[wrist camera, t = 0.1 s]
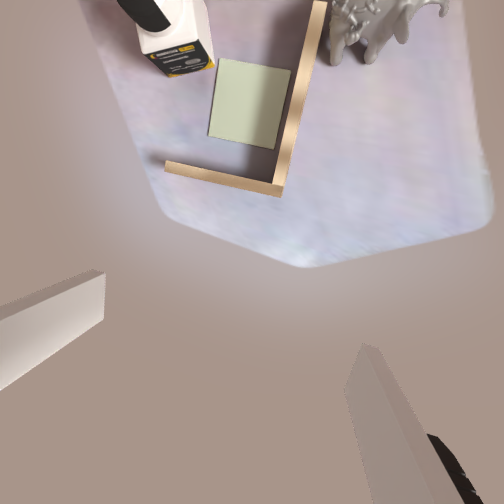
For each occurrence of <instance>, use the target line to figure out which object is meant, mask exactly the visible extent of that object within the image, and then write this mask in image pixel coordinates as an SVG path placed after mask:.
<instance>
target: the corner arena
mask: <svg viewBox="0 0 504 504" xmlns="http://www.w3.org/2000/svg"><path fill="white" fill-rule="evenodd" d="M327 3H328V2H323V1H316V0H314V2H313V6H312V11H311V15H310V20H309V24H308V28H307V33H306V37H305V41H304V46H303V50H302V55H301V59H300V63H299V68H298V72H297V77H296V81H295V85H294V90H293V94H292V99H291V103H290V107H289V112H288V116H287V121H286V125H285V129H284V134H283V138H282V143H281V147H280V151H279V156H278V160H277V164H276V169H275V173H274V178H273V182H272V184H270V183H266V182H261V181H257V180H252V179H248V178H243V177H239V176H234V175H230V174H225V173H221V172H216V171H212V170H207V169H203V168H198V167H194V166H189V165H185V164H180V163H176V162H171V161H167V160H166V162H165V172H169V173H173V174H178V175H182V176H187V177H191V178H195V179H200V180H204V181H209V182H213V183H217V184H222V185H226V186H231V187H235V188H240V189H244V190H248V191H253V192H257V193H262V194H266V195H270V196H275V197H279V198H281V197H282V194H283V190H284V186H285V182H286V178H287V174H288V169H289V165H290V161H291V157H292V153H293V149H294V145H295V140H296V136H297V132H298V128H299V124H300V120H301V116H302V112H303V107H304V103H305V99H306V95H307V91H308V87H309V83H310V79H311V74H312V70H313V66H314V62H315V58H316V54H317V50H318V45H319V41H320V37H321V33H322V28H323V23H324V18H325V13H326V8H327Z"/></svg>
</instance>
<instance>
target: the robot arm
mask: <svg viewBox="0 0 504 504" xmlns="http://www.w3.org/2000/svg"><path fill="white" fill-rule="evenodd" d="M105 275H106V273H104V272H100V271H97V270H93V269H92V270H89V271H87V272H85V273H82V274H79V275H77V276H74V277H72V278H69V279H67V280H64V281H62V282H60V283H57V284H54V285H52V286H50V287H47V288H45V289H42V290H40V291H37V292H35V293H32V294H30V295H27V296H25V297H23V298H20V299H17V300H15V301H12V302H10V303H7V304H5V305H3V306H0V390H2V389H3V388H5V387H6V386H7V385H9V384H10V383H12V382H13V381H15V380H16V379H18V378H19V377H21V376H22V375H23V374H25V373H26V372H28V371H29V370H31V369H32V368H33V367H35V366H37V365H38V364H39V363H41V362H42V361H44V360H45V359H47V358H48V357H49V356H51V355H52V354H54V353H55V352H57V351H58V350H60V349H61V348H62V347H64V346H65V345H67V344H68V343H70V342H71V341H73V340H74V339H75V338H77V337H78V336H80V335H81V334H83V333H84V332H86V331H87V330H88V329H90V328H91V327H93V326H94V325H96V324H97V323H99V322H100V321H101V320H103V319H104V298H105V297H104V296H105ZM344 392H345V395H346V400H347V404H348V408H349V412H350V415H351V419H352V423H353V427H354V431H355V435H356V438H357V442H358V446H359V450H360V454H361V457H362V462H363V465H364V469H365V473H366V477H367V480H368V485H369V488H370V492H371V496H372V500H373V504H483V502H482V500H481V499H480V497H479V496H477V495H476V490H475V489H474V487H473V486H472V484H471V482H470V481H469V479H468V478H466V474H465V472H464V471H463V469H462V467H461V466H460V464H459V463H458V461H457V459H456V458H455V456H454V455H453V454H452V452H451V451H450V450H449V449H448V448H447V447H446V446H445V445H444V443H443V442H442V441H441V440H440V439H439V438H438V437H436V436H433V435H430V434H426V433H425V431H424V429H423V427H422V425H421V424H420V422H419V420H418V418H417V416H416V414H415V413H414V411H413V409H412V407H411V405H410V403H409V402H408V400H407V398H406V396H405V394H404V393H403V391H402V389H401V387H400V386H399V383H398V382H397V380H396V378H395V376H394V374H393V372H392V371H391V369H390V367H389V365H388V363H387V362H386V360H385V358H384V356H383V354H382V352H381V351H380V349H379V348H378V347H374V346H371V345H367V344H363V343H362V345H361V348H360V350H359V353H358V355H357V358H356V361H355V363H354V365H353V368H352V370H351V373H350V375H349V378H348V380H347V383H346V385H345V388H344Z"/></svg>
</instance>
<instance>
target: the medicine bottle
mask: <svg viewBox="0 0 504 504" xmlns="http://www.w3.org/2000/svg"><path fill="white" fill-rule="evenodd" d="M117 2H118V3H119V5H120V6H121V7H122V8H123V9H124V11H125V12H126V13H127V14H128V15H129V16H130V17H131V18H132V19H133V20H134V21H135V23H136V28H137V33H138V38H139V43H140V47H141V51H142V53H143V54H144V55H145V56H146V57H147V58H148V59H149V60H151V61H152V62H153V63H154V64H155V65H156V66H157V67H158V68H159V69H160V70H162V71H163V72H164V73H165V74H166V75H167V76H168V77H169V78H172V77H176V76H181V75H185V74H189V73H193V72H197V71H202V70H206V69H210V68H214V67H215V61H214V54H213V47H212V40H211V33H210V26H209V19H208V13H207V8H206V5H205V3H204V1H203V0H117Z"/></svg>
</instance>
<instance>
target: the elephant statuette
mask: <svg viewBox="0 0 504 504" xmlns="http://www.w3.org/2000/svg"><path fill="white" fill-rule="evenodd" d="M427 4H440V6H441V9H440V11H439V16H440V17H444V16H445V15H446V14H447V13H448V10H449V6H448V4H449V0H333V1H332V6H333V7H332V9H331V12H330V17H331V20H330V22H329V28H330V33H329V36H330V41H331V50H330V64H331V65H332V66H337V65H339V64H340V63H341V61H342V58H343V48H344V47H345V45H347V46H350V45H352V44H353V43H354V42H357V41H358V40H359V38H360V37H361V38H364V39H366V40H367V41H368V46H367V49H366V51H365V53H364V61H365V63H366V64H368V65H369V64H372V63H373V62H374V61H375V60H376V58H377V56H378V53H379V52H380V50H381V49H382V48H383V46H384V45H385V44H386V42H387V41H388V40H389V39H390V38H391V36H392V35H393V34H394V35H395V37H396V40H397V41H398V42H399V43H400V44H404V43H406V42H407V40H408V37H409V25H408V23H409V22H410V20H411V19H412V17H413V16H414V14H415V13H416V12H417V11H418V9H420V8H421V7H422V6H424V5H427Z"/></svg>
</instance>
